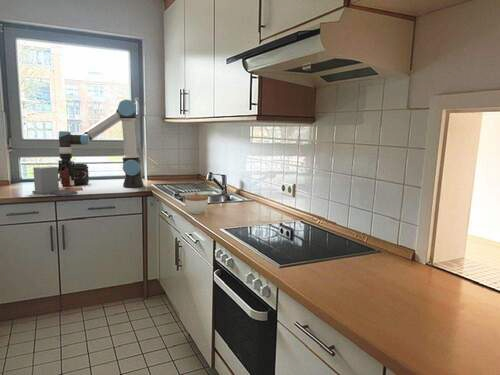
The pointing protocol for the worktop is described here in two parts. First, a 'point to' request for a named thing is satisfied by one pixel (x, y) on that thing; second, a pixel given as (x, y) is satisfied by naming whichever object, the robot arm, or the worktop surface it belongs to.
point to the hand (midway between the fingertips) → (67, 184)
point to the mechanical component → (65, 178)
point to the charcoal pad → (64, 193)
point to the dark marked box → (80, 174)
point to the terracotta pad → (70, 188)
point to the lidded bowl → (196, 203)
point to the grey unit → (46, 180)
